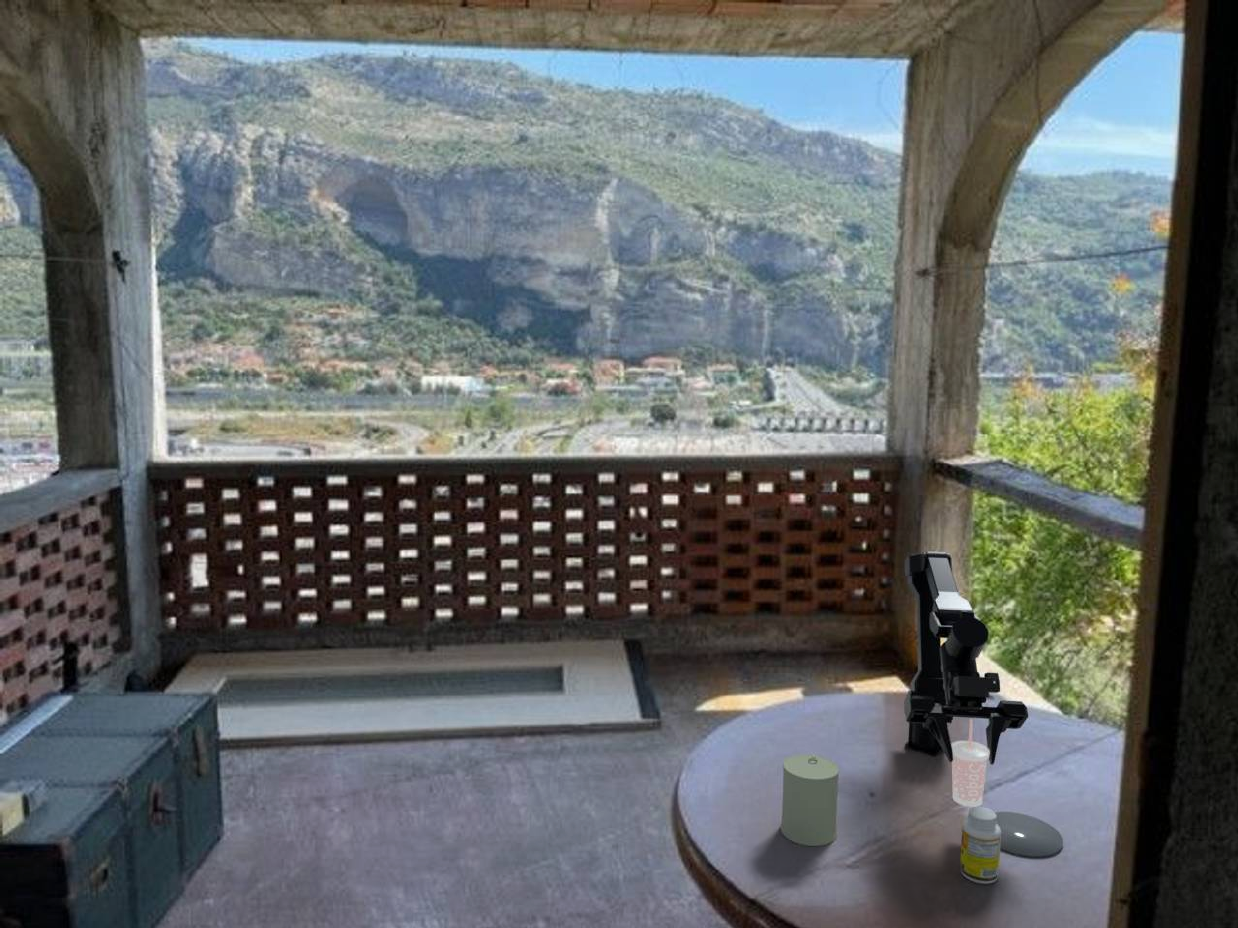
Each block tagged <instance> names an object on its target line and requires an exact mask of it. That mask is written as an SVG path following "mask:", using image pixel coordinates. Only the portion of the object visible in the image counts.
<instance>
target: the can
mask: <svg viewBox="0 0 1238 928" xmlns="http://www.w3.org/2000/svg"><path fill="white" fill-rule="evenodd" d="M782 767H783V768H782V769H783V770H782V772H783V773H782V774H783V775H782V804H781V805H782V807H781V808H782V810H781V811H782V812H781V823H780V831H781V833H782V835H783V836H784V838H786V839H787V840H790V841H791V842H793V843H795V844H798V845H801V846H807V847H809V846H810V847H820V846H826V845H829V844H831V843H833V842H834V841H835V840H836V839H837V837H838V832H837V813H838V810H837V809H838V790H839V774H840V768H839V765H838V764H837V763H836V762H834V761H833V760H832V759H829V758H828V757H825V756H823V755H822V756H821V755H817V754H811V753H802V754H801V753H799V754H794V755H791V756H788V757H786V758H785V759H784V761H783V763H782Z"/></svg>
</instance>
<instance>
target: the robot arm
mask: <svg viewBox="0 0 1238 928" xmlns="http://www.w3.org/2000/svg"><path fill="white" fill-rule="evenodd" d="M904 575H905V577H907V586H908V587H909V589H910V590H911V592H912V593H913V595H914V597H915V599H916V628H917V629H916V632H917V666H918V667H917V672H915V675H914V677H913V678H912V680H911V681H910V687H909V689H910V690H908V691H907V694H906V695H905V699H904V701H903V702H904V705H903V707H904V708H903V709H904V710H903V711H904V714H905V722H907V723H908V736H907V737H908V739H907V742H906V743H904V747H905V748H906V749H910V750H912V751H913V750H914V751H917V752H919V753H922V754H926V755H929V756H933V757H936V756H938V755H939V754H940V753H941V752H944V754H945V756H946V758H947V761H949V763H952V761H953V752H952V746H951V743H952V741H951V737H950V732H949V728H948V724H952V722H953V720H954V718H968V719H987V720H988V725H986V728H985V736H986V745H987V746H986V747H988V749H989V750H990V754H989V758H988V761H989V763H990V764H989V765H992V766H993V765H994V764H995V761H996V756H997V750H998V747H999V741H1000V737H1001V734H1002V733H1005V732H1006V731H1007V729H1011V730H1012V729H1014V730H1017V729H1021V728H1022V726H1023V725H1024V724H1025V722H1026V721H1027V720H1028V718H1029V713H1028V708H1027V706H1026V704H1025V703H1024V702H1023V701H1022V700H1020V701H1018V700H1017V701H1016V700H1004V699H1002V700H1000V701H999V702H998V703H997V706H983V704H985V703H987V698H990V693H991V694H993V693H994V694H995V693H997V694H998V693H1000V692H1001V680H1000V676H999V673H998V672H990V671H989V672H985V673H984V676H981V675H980V672H978V666H977V658H979V656H980V655H981V652H982V651H983V648H984V647H985V645H986V643H987V641H988V638H989V629H988V628H987V626H986V624H985V623H984V622H982V621H981V619H980V618H979V616H978V615H977V613H975V611H974V608H972V605H971V603H970V602H969V601H968V600H967V599H965V598H964V597H962V596H960V593H959V589H958V586H957V583H956V581H955V577H954V574H953V565H952V557H951V555H950V553H949V552H946V551H936V550H934V551H932V550H926V551H925V552H924V551H923V552H921V553H912V554H911V555H909V556H908V557H907V558H905V560H904ZM941 639H946V641H944V642H943V643H942V642H941V641H942V640H941ZM941 643H942V644H941Z"/></svg>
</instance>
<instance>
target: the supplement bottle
mask: <svg viewBox="0 0 1238 928" xmlns="http://www.w3.org/2000/svg"><path fill="white" fill-rule="evenodd" d="M961 826H962V827H961V828H962V829H961V843H960V844H961V845H960V863H959V866H960V867H959V869H960V872H961V874H962V875H963V876H964V877H965V878H966V879H967V880H969V881H971V882H972V883H973V882H974V883H976V884H982V885H983V884H984V885H988V884H989V885H990V884H993V883H995V882H996V881H997V880H998V878H999V871H1000V858H1001V849H1000V845H1001V829H1000V827H999V826H998V825H997V824H996V814H995V811H993V810H992V809H989V808H987V807H983V806H976V807H969V810H968V815H967V818H965V819H963V822H962V825H961Z"/></svg>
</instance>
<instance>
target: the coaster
mask: <svg viewBox="0 0 1238 928" xmlns="http://www.w3.org/2000/svg"><path fill="white" fill-rule="evenodd" d="M994 812H995V811H994ZM995 814H996V824H997V825H998V826H999V827H1000V829H1001V845H1000V851H1001V850H1002V851H1003V852H1007V853H1010V854H1011V855H1016V856H1022V857H1027V858H1045V857H1050V855H1051V856H1055V855H1057V854H1058V853H1060V851H1062V849H1063V845H1064V838H1063V836H1062V834H1061V833H1060V832H1059V830H1058V829H1056V828H1055V827H1053V825H1051V824H1050V823H1047V822H1046V821H1044V820H1041V819H1039V818H1037V817H1034V816H1031V815H1028V814H1023V813H1019V812H1013V811H997V812H995Z"/></svg>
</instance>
